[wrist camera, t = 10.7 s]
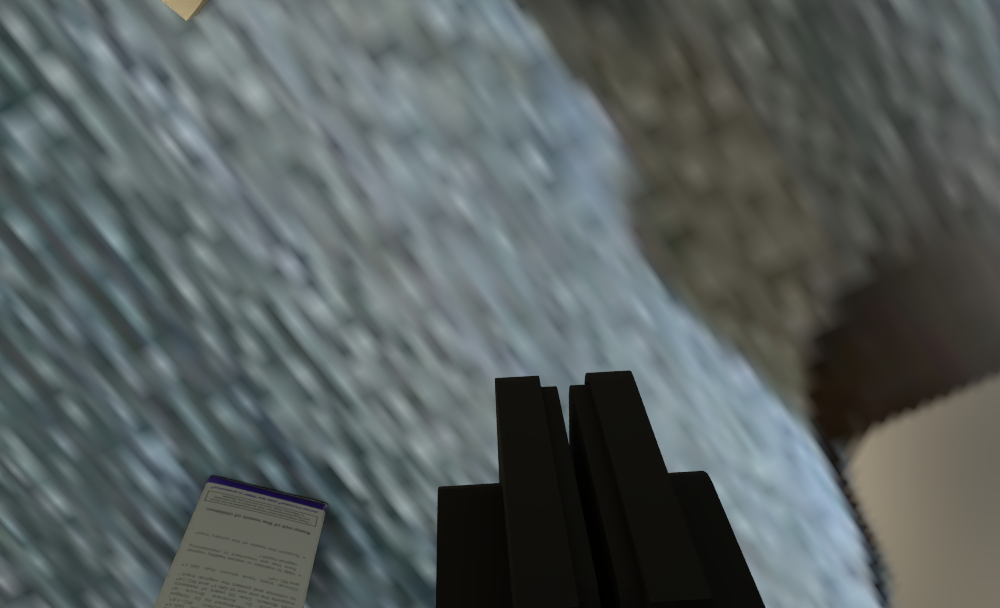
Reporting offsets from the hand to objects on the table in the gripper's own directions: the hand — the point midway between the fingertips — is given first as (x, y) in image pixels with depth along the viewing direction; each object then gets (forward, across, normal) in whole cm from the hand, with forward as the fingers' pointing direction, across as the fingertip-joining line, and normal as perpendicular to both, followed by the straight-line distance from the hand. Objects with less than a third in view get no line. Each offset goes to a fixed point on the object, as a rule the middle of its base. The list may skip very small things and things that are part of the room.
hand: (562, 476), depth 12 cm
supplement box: (+27, +12, +22) cm, 37 cm away
